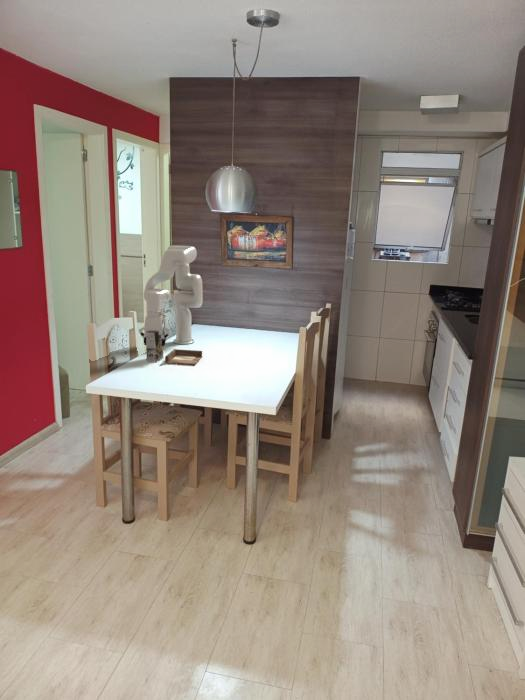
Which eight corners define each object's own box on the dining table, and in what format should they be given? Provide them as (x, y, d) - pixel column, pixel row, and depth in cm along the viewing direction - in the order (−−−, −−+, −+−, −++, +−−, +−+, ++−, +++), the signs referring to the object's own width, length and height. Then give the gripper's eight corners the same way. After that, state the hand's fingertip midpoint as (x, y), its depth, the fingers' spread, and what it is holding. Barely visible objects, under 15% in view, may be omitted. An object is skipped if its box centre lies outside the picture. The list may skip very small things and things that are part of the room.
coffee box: (157, 362, 282) (156, 332, 278) (146, 361, 283) (145, 332, 279) (163, 357, 290) (163, 329, 286) (152, 356, 292) (152, 328, 288)
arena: (174, 356, 294) (174, 349, 293) (202, 357, 292) (202, 350, 291) (165, 363, 279) (165, 356, 278) (194, 365, 277) (194, 358, 276)
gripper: (171, 313, 283) (172, 344, 287) (140, 312, 285) (141, 342, 289) (167, 316, 276) (167, 347, 280) (135, 314, 278) (136, 346, 282)
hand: (154, 345), depth 284 cm, fingers open, 9 cm apart
